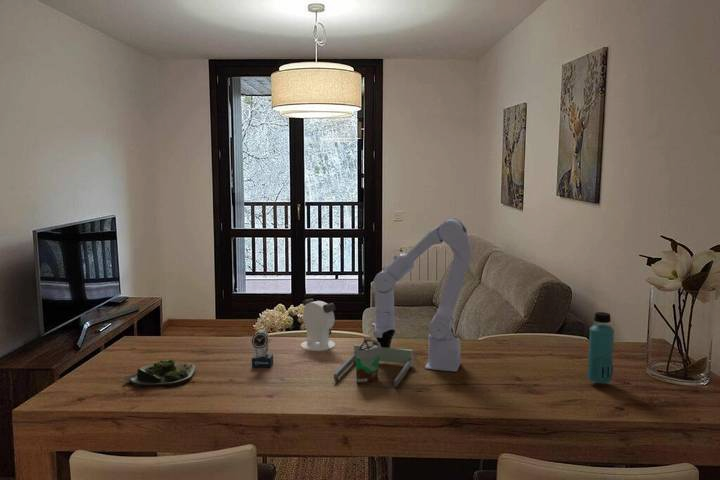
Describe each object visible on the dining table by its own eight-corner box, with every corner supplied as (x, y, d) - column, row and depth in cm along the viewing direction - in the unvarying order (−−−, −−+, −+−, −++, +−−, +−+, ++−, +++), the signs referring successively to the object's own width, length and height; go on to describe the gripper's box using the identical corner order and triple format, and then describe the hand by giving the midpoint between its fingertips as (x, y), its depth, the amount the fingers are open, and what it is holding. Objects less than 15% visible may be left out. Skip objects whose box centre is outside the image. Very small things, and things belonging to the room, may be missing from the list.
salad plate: (143, 365, 182) (142, 350, 181) (202, 364, 183) (202, 349, 182) (120, 389, 163) (119, 373, 162) (186, 388, 163) (185, 372, 163)
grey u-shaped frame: (412, 365, 179) (412, 349, 179) (396, 389, 161) (397, 371, 160) (355, 359, 185) (355, 344, 184) (333, 382, 166) (333, 365, 166)
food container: (377, 388, 162) (377, 352, 161) (355, 386, 164) (355, 350, 162) (385, 372, 174) (385, 338, 173) (364, 370, 176) (364, 337, 174)
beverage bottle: (600, 390, 160) (604, 317, 157) (581, 382, 166) (584, 311, 163) (617, 386, 163) (621, 314, 160) (597, 378, 169) (601, 309, 166)
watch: (250, 370, 176) (249, 334, 175) (256, 361, 184) (255, 326, 183) (269, 370, 176) (268, 334, 174) (274, 361, 184) (273, 326, 182)
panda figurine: (343, 345, 199) (343, 301, 197) (319, 353, 191) (319, 307, 189) (317, 338, 207) (317, 295, 205) (293, 346, 199) (292, 301, 197)
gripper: (378, 303, 189) (378, 345, 191) (364, 315, 175) (365, 360, 177) (400, 305, 187) (400, 347, 189) (388, 317, 173) (388, 362, 175)
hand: (384, 353), depth 183 cm, fingers closed
